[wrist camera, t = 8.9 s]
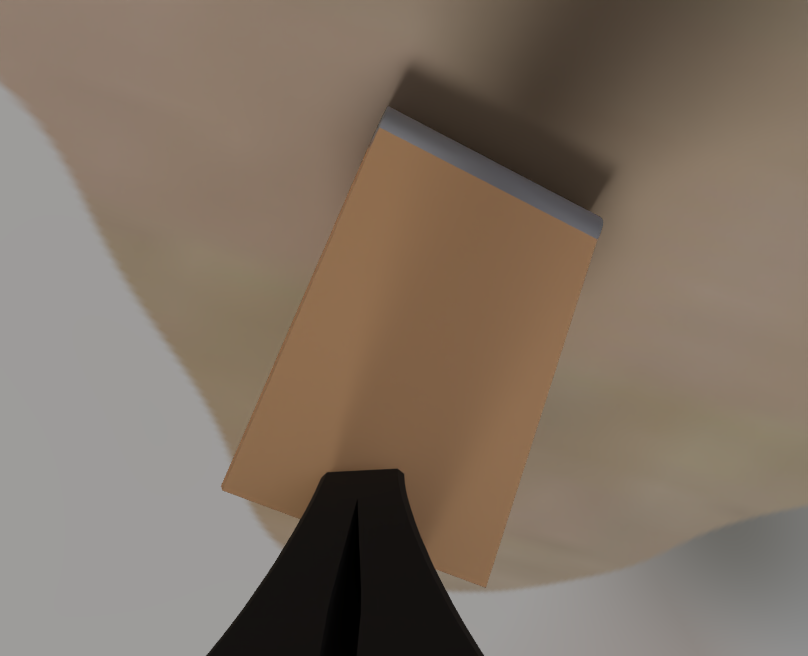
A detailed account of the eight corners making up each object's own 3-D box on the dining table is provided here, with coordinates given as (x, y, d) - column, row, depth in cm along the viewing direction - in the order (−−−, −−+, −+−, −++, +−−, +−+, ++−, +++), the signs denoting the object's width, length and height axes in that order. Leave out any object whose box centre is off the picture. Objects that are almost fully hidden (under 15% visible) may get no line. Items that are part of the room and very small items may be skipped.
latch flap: (221, 485, 12) (222, 490, 11) (379, 119, 14) (392, 98, 13) (467, 577, 13) (487, 588, 12) (582, 224, 15) (607, 211, 14)
